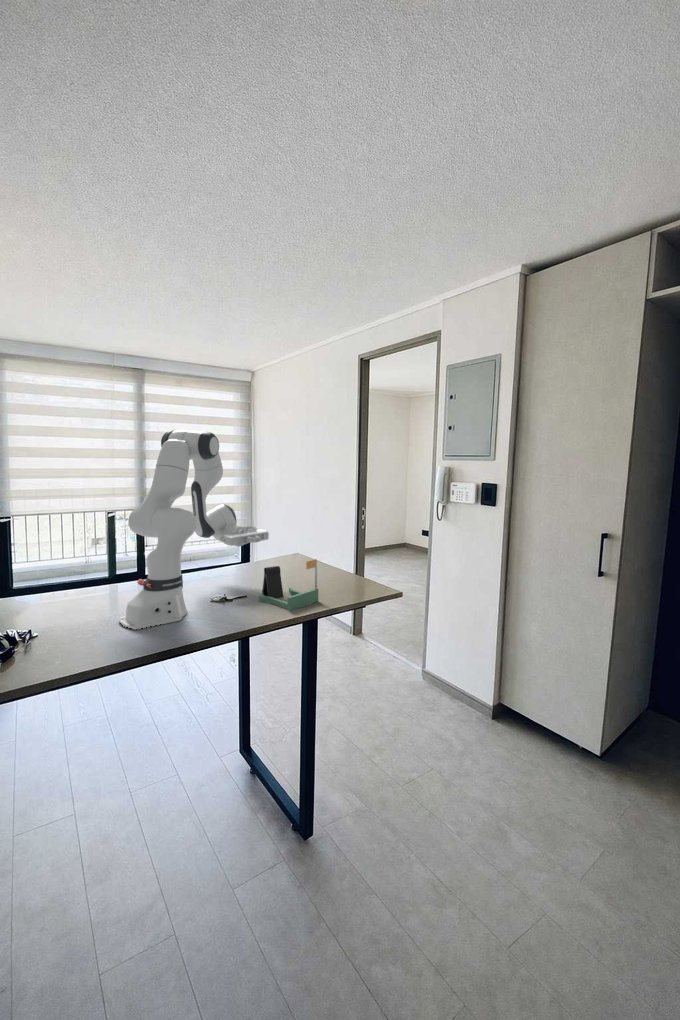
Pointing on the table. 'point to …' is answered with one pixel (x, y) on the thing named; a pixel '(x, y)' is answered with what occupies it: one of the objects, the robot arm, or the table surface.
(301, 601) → the putting pocket
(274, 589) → the door stopper
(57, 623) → the table surface
